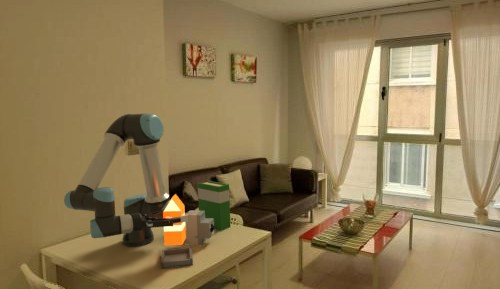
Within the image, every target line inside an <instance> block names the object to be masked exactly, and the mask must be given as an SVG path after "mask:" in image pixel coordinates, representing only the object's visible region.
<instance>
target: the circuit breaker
mask: <svg viewBox="0 0 500 289" xmlns="http://www.w3.org/2000/svg"><path fill="white" fill-rule="evenodd" d="M185 215H188V222H185V228H186V238H185V240H184V243H185V244H189V245H188V246H200V245H201V246H202V245H203V244H204V243H205V242H206V241H207V239H210V238H212V236H213V235H214V234H215V230H216V229H215V228H216V226H214V218H205V211H199V210H189V211H187V212H185ZM185 244H184V245H185Z"/></svg>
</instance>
